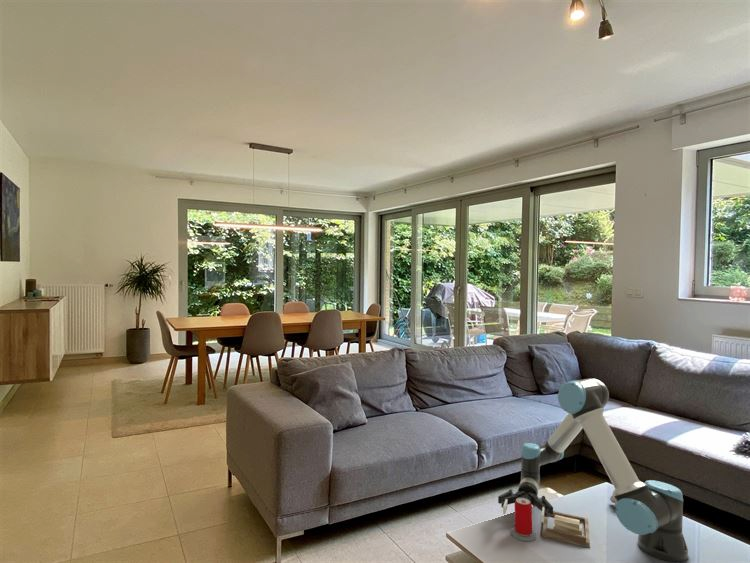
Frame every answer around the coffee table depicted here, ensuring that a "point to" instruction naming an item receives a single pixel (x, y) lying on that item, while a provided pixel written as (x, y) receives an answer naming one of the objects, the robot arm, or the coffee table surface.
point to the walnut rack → (566, 535)
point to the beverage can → (523, 516)
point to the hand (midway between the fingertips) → (523, 514)
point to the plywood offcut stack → (567, 525)
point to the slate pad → (523, 538)
